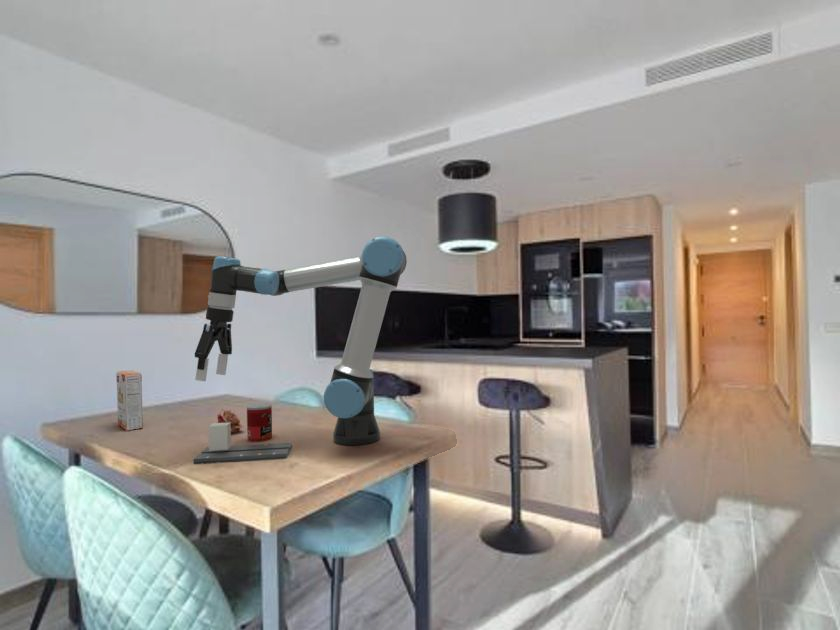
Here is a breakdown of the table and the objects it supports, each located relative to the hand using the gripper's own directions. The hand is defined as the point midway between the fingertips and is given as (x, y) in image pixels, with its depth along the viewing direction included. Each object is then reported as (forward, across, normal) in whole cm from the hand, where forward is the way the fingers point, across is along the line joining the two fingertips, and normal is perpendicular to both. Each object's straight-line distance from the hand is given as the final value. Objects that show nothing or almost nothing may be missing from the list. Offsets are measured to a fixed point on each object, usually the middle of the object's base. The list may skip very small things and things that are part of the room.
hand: (211, 377), depth 143 cm
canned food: (+21, -14, +13) cm, 29 cm away
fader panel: (+20, +4, +15) cm, 26 cm away
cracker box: (+30, -36, -43) cm, 63 cm away
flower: (+23, -24, 0) cm, 33 cm away
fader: (+21, +5, +8) cm, 24 cm away
